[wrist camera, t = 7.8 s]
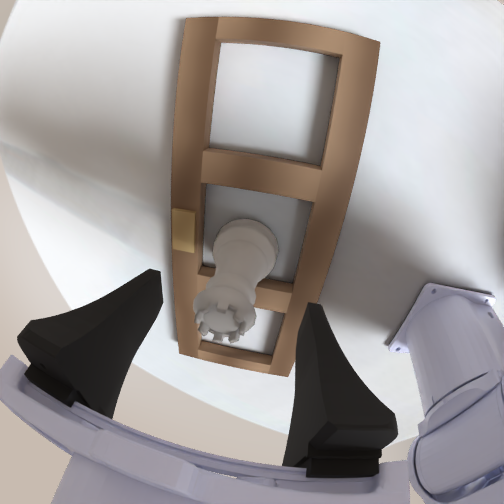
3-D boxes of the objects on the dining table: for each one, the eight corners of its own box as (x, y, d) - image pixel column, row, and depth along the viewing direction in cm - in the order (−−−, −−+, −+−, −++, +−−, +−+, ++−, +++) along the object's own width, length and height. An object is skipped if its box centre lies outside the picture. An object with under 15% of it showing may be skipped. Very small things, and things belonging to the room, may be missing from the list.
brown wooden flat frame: (374, 45, 11) (381, 40, 10) (288, 367, 26) (287, 379, 25) (193, 22, 12) (184, 17, 11) (183, 344, 27) (178, 355, 26)
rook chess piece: (288, 262, 20) (279, 349, 13) (233, 277, 21) (203, 359, 15) (264, 206, 18) (241, 279, 11) (206, 227, 19) (158, 300, 13)
